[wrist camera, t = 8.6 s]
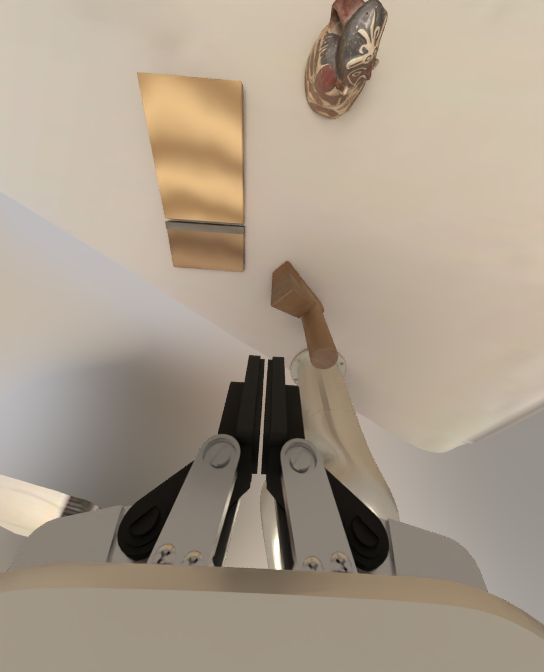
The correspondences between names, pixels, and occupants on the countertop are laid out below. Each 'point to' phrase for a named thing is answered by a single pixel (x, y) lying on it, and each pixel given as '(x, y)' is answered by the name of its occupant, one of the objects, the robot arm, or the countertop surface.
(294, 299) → the wooden block stack
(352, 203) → the countertop surface
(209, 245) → the brown flat block
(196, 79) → the oak plank
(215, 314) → the countertop surface
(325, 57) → the figurine
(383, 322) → the countertop surface
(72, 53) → the countertop surface
